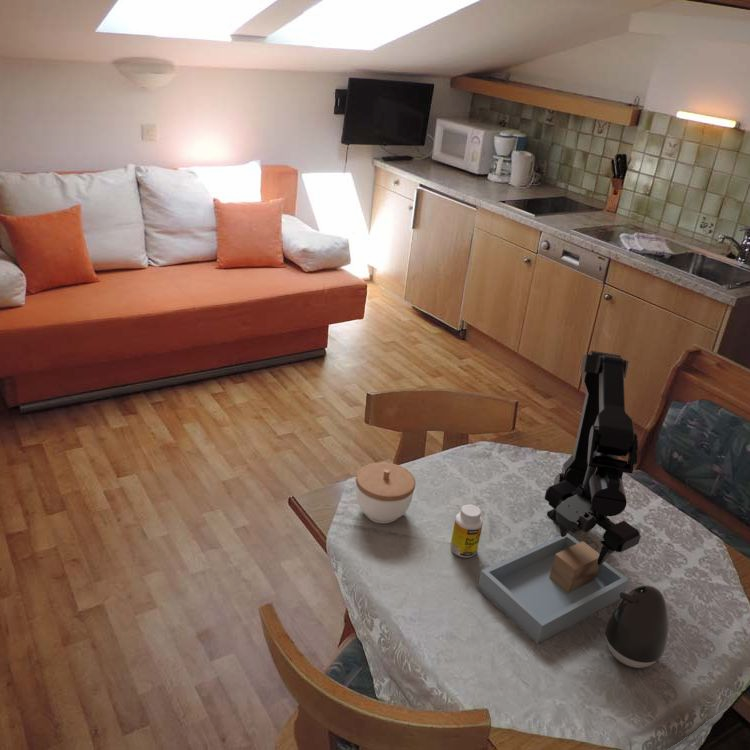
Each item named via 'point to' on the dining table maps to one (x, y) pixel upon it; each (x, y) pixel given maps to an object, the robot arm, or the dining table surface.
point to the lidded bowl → (384, 491)
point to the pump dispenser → (639, 627)
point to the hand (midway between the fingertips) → (581, 549)
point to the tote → (547, 590)
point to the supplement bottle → (467, 531)
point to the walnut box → (575, 567)
